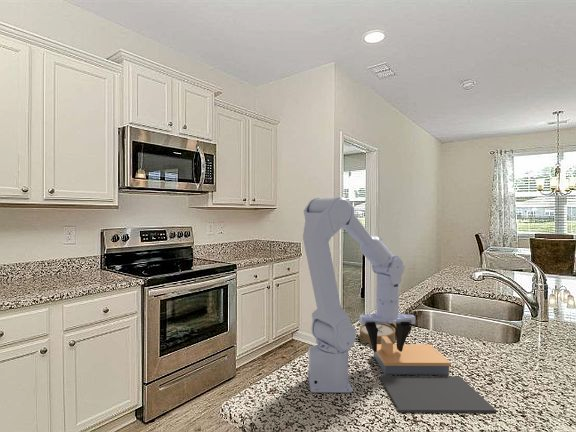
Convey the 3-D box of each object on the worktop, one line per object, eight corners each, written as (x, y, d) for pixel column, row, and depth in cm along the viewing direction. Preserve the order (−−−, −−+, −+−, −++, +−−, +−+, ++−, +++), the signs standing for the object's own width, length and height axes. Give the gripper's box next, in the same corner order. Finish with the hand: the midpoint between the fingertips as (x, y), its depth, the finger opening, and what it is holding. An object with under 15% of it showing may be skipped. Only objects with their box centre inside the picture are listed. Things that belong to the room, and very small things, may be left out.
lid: (384, 368, 83) (385, 348, 83) (372, 349, 95) (372, 331, 95) (450, 369, 83) (451, 348, 83) (430, 350, 95) (430, 332, 95)
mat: (399, 412, 68) (399, 409, 68) (379, 378, 82) (379, 376, 82) (496, 412, 68) (496, 410, 68) (459, 378, 82) (460, 376, 82)
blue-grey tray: (385, 375, 83) (385, 365, 83) (373, 356, 94) (373, 347, 94) (448, 375, 84) (449, 365, 84) (429, 356, 95) (429, 347, 95)
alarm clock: (352, 330, 107) (374, 312, 118) (353, 344, 108) (376, 325, 119) (384, 340, 99) (405, 319, 110) (386, 355, 100) (406, 333, 111)
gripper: (364, 303, 84) (364, 356, 84) (420, 303, 85) (420, 356, 85) (357, 296, 91) (357, 345, 92) (409, 296, 92) (408, 345, 92)
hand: (386, 350), depth 89 cm, fingers open, 6 cm apart
